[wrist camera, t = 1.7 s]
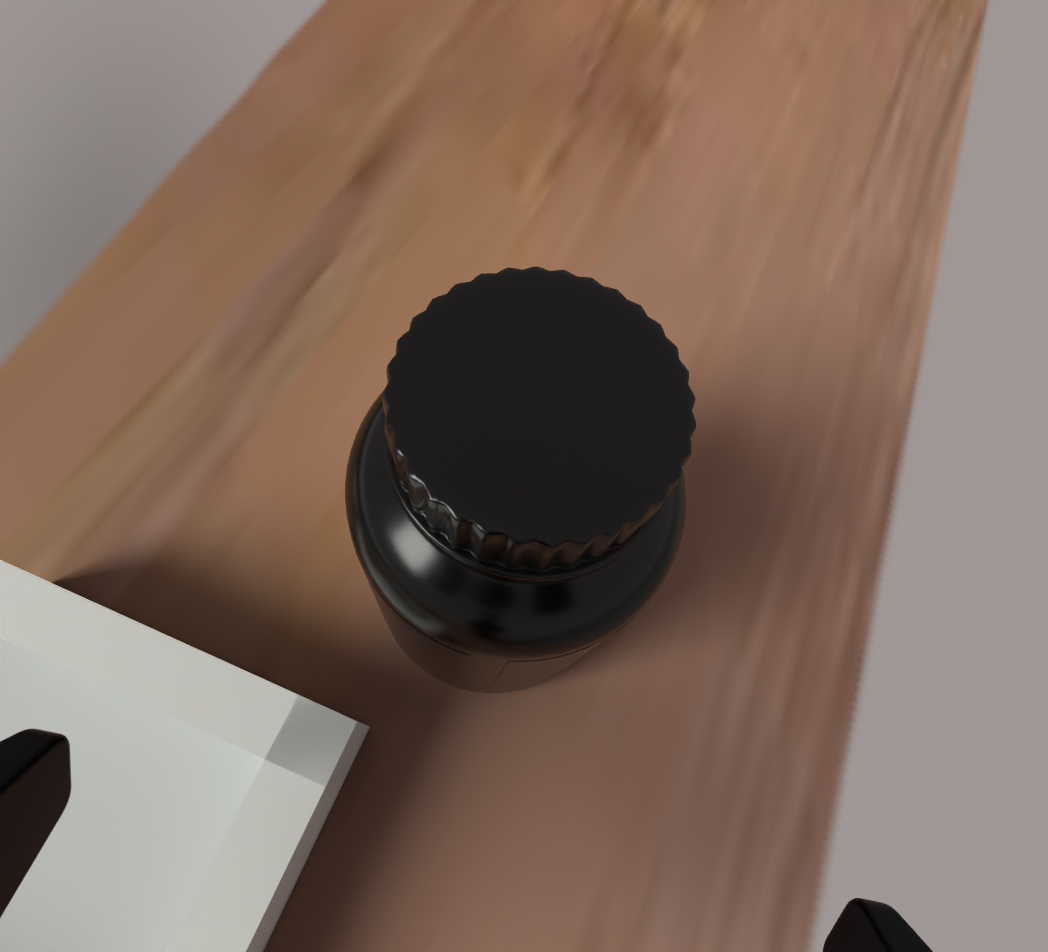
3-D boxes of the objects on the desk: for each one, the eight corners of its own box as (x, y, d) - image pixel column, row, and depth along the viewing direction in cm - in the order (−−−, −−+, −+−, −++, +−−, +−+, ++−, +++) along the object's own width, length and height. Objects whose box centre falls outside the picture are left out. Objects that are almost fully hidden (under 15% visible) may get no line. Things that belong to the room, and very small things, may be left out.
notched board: (370, 727, 19) (357, 721, 16) (107, 1280, 15) (14, 1431, 12) (50, 582, 20) (-27, 547, 17) (-304, 1077, 15) (-510, 1168, 12)
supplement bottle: (549, 450, 23) (656, 176, 12) (635, 645, 21) (856, 527, 10) (347, 515, 22) (259, 266, 11) (419, 734, 20) (403, 708, 9)
